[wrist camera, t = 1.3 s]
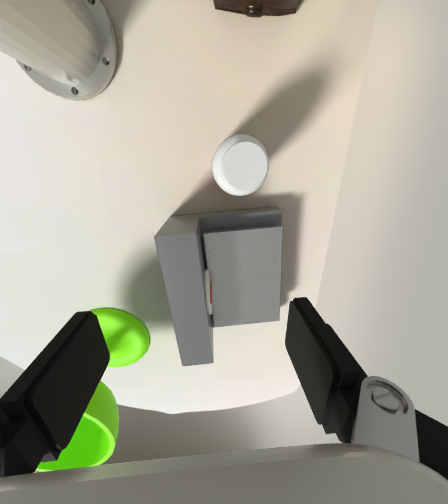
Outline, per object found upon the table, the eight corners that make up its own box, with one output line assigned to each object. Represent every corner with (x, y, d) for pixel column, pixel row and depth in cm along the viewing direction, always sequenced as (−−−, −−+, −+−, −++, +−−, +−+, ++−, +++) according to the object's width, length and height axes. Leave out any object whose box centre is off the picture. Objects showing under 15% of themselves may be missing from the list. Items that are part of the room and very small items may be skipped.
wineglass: (165, 345, 46) (139, 446, 29) (110, 375, 49) (58, 484, 32) (112, 294, 40) (44, 385, 24) (53, 331, 43) (-46, 437, 26)
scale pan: (203, 231, 32) (203, 233, 31) (280, 224, 33) (282, 226, 32) (214, 322, 39) (214, 327, 38) (277, 316, 40) (279, 320, 39)
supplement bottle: (213, 139, 31) (215, 123, 19) (256, 144, 32) (284, 132, 20) (210, 185, 34) (209, 197, 22) (250, 189, 34) (271, 203, 22)
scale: (170, 216, 35) (154, 237, 25) (276, 206, 36) (302, 223, 25) (188, 319, 44) (182, 366, 34) (274, 310, 44) (292, 354, 34)
